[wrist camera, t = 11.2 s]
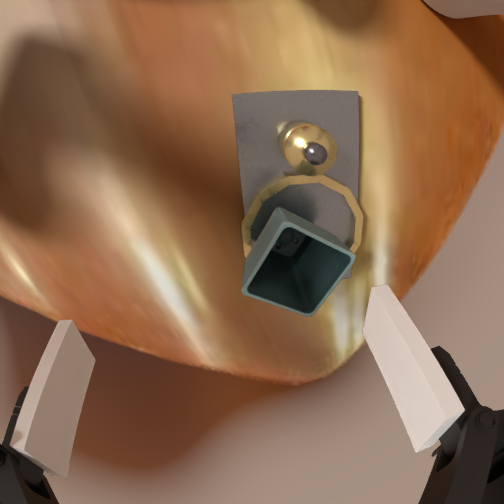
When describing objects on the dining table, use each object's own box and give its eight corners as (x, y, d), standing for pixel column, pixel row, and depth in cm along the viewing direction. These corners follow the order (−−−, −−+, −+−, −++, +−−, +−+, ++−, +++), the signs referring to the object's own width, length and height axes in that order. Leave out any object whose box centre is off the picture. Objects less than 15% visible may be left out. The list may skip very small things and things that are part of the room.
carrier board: (248, 285, 42) (252, 323, 35) (227, 95, 30) (226, 95, 23) (351, 272, 42) (371, 306, 36) (357, 91, 30) (389, 93, 23)
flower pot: (332, 219, 37) (359, 256, 29) (296, 274, 40) (311, 319, 32) (271, 188, 34) (284, 219, 26) (236, 249, 38) (239, 293, 30)
